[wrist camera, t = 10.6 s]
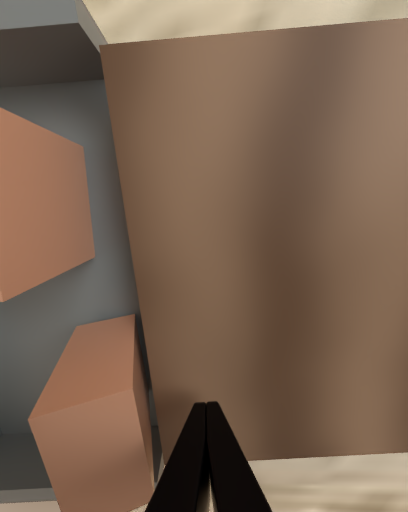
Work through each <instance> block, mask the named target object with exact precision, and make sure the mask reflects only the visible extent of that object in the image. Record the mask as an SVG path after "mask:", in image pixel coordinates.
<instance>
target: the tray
mask: <svg viewBox="0 0 408 512" xmlns="http://www.w3.org/2000/svg"><path fill="white" fill-rule="evenodd" d="M106 44H108V43H107V41H106V39H105V38H104V36H103V34H102V33H101V31H100V29H99V28H98V26H97V24H96V23H95V21H94V19H93V18H92V16H91V14H90V13H89V11H88V9H87V8H86V6H85V4H84V3H83V1H82V0H0V108H3V109H5V110H7V111H9V112H11V113H13V114H15V115H17V116H19V117H22V118H24V119H26V120H28V121H30V122H32V123H34V124H36V125H39V126H41V127H43V128H45V129H47V130H49V131H51V132H53V133H55V134H58V135H60V136H62V137H64V138H66V139H68V140H70V141H72V142H74V143H77V144H79V145H81V146H83V148H84V157H85V166H86V176H87V185H88V194H89V203H90V213H91V222H92V231H93V240H94V250H95V257H94V258H92V259H90V260H88V261H86V262H84V263H82V264H80V265H78V266H76V267H74V268H72V269H70V270H68V271H66V272H64V273H62V274H60V275H58V276H56V277H54V278H51V279H49V280H47V281H45V282H43V283H41V284H39V285H37V286H35V287H33V288H31V289H29V290H27V291H25V292H23V293H21V294H19V295H17V296H15V297H13V298H11V299H9V300H7V301H4V302H0V503H16V502H36V501H37V502H38V501H57V499H56V496H55V493H54V490H53V488H52V485H51V482H50V479H49V477H48V474H47V471H46V468H45V466H44V463H43V460H42V457H41V455H40V452H39V449H38V446H37V444H36V441H35V438H34V435H33V433H32V430H31V427H30V424H29V422H28V418H29V416H30V414H31V412H32V410H33V408H34V407H35V405H36V403H37V401H38V399H39V397H40V395H41V393H42V391H43V389H44V387H45V385H46V384H47V382H48V380H49V378H50V376H51V374H52V372H53V370H54V368H55V366H56V364H57V363H58V361H59V359H60V357H61V355H62V353H63V351H64V349H65V347H66V345H67V343H68V341H69V340H70V338H71V336H72V334H73V332H74V330H75V328H76V326H80V325H84V324H89V323H94V322H99V321H103V320H108V319H113V318H118V317H122V316H127V315H132V314H135V317H136V323H137V328H138V334H139V339H140V345H141V350H142V356H143V362H144V367H145V373H146V378H147V384H148V389H149V403H150V420H151V437H152V454H153V471H154V488H156V486H157V483H158V481H159V479H160V477H161V475H162V472H163V469H164V459H163V453H162V446H161V440H160V434H159V427H158V421H157V414H156V408H155V402H154V395H153V389H152V382H151V376H150V369H149V363H148V357H147V350H146V344H145V337H144V331H143V325H142V318H141V312H140V305H139V299H138V293H137V286H136V280H135V273H134V267H133V260H132V254H131V248H130V241H129V235H128V228H127V222H126V216H125V209H124V203H123V196H122V190H121V184H120V177H119V171H118V164H117V158H116V151H115V145H114V139H113V132H112V126H111V119H110V113H109V107H108V100H107V94H106V87H105V81H104V75H103V68H102V62H101V55H100V49H99V45H106Z"/></svg>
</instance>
